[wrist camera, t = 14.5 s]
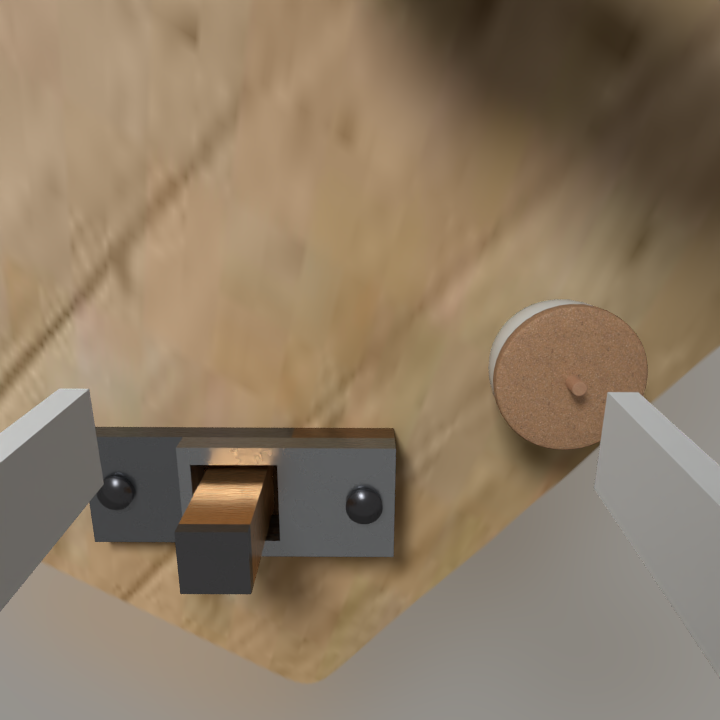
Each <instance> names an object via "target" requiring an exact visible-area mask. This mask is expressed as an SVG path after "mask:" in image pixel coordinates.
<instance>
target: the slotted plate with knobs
mask: <svg viewBox="0 0 720 720" xmlns="http://www.w3.org/2000/svg"><path fill="white" fill-rule="evenodd" d="M95 430H96V437H97V443H98V450H99V456H100V463H101V469H102V476H103V482H104V485H103V486H102V487H101V488H100V489H99V491H98V492H97V493H96V494H95V496H94V497H93V498H92V499H91V501H90V502H89V503H90V509H91V516H92V523H93V530H94V537H95V542H175V534H174V532H175V530H176V528H177V526H178V524H179V522H180V520H181V518H182V516H183V514H184V513H185V511H186V509H187V507H188V505H189V503H190V501H191V499H192V497H193V495H194V493H195V491H196V489H197V488H198V486H199V484H200V482H201V480H202V478H203V476H204V474H205V471H204V465H277V474H278V499H279V515H272V517H271V520H270V524H269V528H268V532H267V536H266V540H265V543H264V547H263V551H262V555H261V556H308V557H393V556H394V513H395V470H396V445H395V437H394V429H393V428H186V427H95Z"/></svg>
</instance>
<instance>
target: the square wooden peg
mask: <svg viewBox="0 0 720 720" xmlns="http://www.w3.org/2000/svg"><path fill="white" fill-rule="evenodd" d="M273 509H274V482H273V465H209V466H208V468H207V470H206V472H205V474H204V476H203V478H202V480H201V482H200V484H199V486H198V488H197V489H196V491H195V493H194V495H193V497H192V499H191V501H190V503H189V505H188V507H187V509H186V511H185V513H184V514H183V516H182V518H181V520H180V522H179V524H178V526H177V528H176V530H175V532H174V534H175V544H176V554H177V564H178V574H179V584H180V594H251V593H252V589H253V586H254V582H255V578H256V574H257V570H258V566H259V563H260V559H261V555H262V551H263V547H264V543H265V540H266V536H267V532H268V528H269V524H270V520H271V517H272V513H273Z"/></svg>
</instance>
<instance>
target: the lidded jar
mask: <svg viewBox="0 0 720 720" xmlns="http://www.w3.org/2000/svg"><path fill="white" fill-rule="evenodd" d="M488 370H489V380H490V384H491V388H492V392H493V394H494V397H495V399H496V403H497V405H498V407H499V410H500V412H501V414H502V416H503V417H504V419H505V420H506V421H507V423H508V424H509V426H510V427H511V428H512V429H513V430H514V431H515V432H516V433H517V434H519V435H520V436H521V437H523V438H524V439H526V440H528V441H530V442H532V443H533V444H536V445H539V446H542V447H545V448H551V449H560V450H569V449H577V448H582V447H586V446H590V445H592V444H595V443H597V442H600V441H601V435H602V427H603V420H604V413H605V406H606V399H607V392H638V393H640V394H641V395H642V396H643V394H644V391H645V388H646V383H647V377H648V365H647V359H646V354H645V351H644V348H643V345H642V343H641V341H640V339H639V338H638V336H637V334H636V333H635V332H634V331H633V329H632V328H631V327H630V326H629V325H628V324H627V323H625V322H624V321H623V320H622V319H621V318H619V317H617V316H616V315H614V314H612V313H610V312H608V311H606V310H604V309H601V308H598V307H595V306H593V305H590V304H587V303H584V302H580V301H574V300H569V299H554V300H547V301H542V302H538V303H535V304H532V305H530V306H528V307H525V308H524V309H522V310H520V311H519V312H517V313H516V314H515V315H513V316H512V317H511V318H510V319H509V320H508V321H507V322H506V323H505V324H504V325H503V327H502V328H501V329H500V331H499V332H498V334H497V336H496V337H495V340H494V342H493V344H492V347H491V351H490V356H489V367H488Z"/></svg>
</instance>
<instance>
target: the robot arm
mask: <svg viewBox="0 0 720 720" xmlns="http://www.w3.org/2000/svg"><path fill="white" fill-rule="evenodd" d="M103 485H104V482H103V476H102V469H101V463H100V456H99V450H98V443H97V437H96V430H95V424H94V417H93V411H92V404H91V398H90V392H89V389H58V390H57V391H56V392H54V393H53V394H52V395H50V396H49V397H48V398H46V399H45V400H44V401H42V402H41V403H40V404H38V405H37V406H36V407H34V408H33V409H32V410H30V411H29V412H28V413H26V414H25V415H24V416H22V417H21V418H20V419H18V420H17V421H16V422H14V423H13V424H12V425H10V426H9V427H8V428H6V429H5V430H4V431H2V432H1V433H0V611H1V610H2V609H3V608H4V606H5V605H6V604H7V603H8V602H9V600H10V599H11V598H12V597H13V595H14V594H15V593H16V592H17V591H18V589H19V588H20V587H21V585H22V584H23V583H24V582H25V581H26V579H27V578H28V577H29V576H30V574H31V573H32V572H33V571H34V570H35V568H36V567H37V566H38V565H39V563H40V562H41V561H42V560H43V558H44V557H45V556H46V555H47V554H48V552H49V551H50V550H51V549H52V547H53V546H54V545H55V544H56V542H57V541H58V540H59V539H60V538H61V536H62V535H63V534H64V533H65V531H66V530H67V529H68V528H69V526H70V525H71V524H72V523H73V522H74V520H75V519H76V518H77V517H78V515H79V514H80V513H81V512H82V510H83V509H84V508H85V507H86V505H87V504H88V503H89V502H90V501H91V499H92V498H93V497H94V496H95V494H96V493H97V492H98V491H99V489H100V488H101V487H102V486H103ZM594 489H595V491H596V492H597V494H598V495H599V497H600V498H601V500H602V502H603V503H604V504H605V506H606V507H607V509H608V510H609V512H610V514H611V515H612V517H613V518H614V520H615V521H616V523H617V524H618V525H619V527H620V528H621V530H622V531H623V533H624V535H625V536H626V537H627V539H628V541H629V542H630V544H631V545H632V547H633V548H634V550H635V551H636V553H637V554H638V556H639V557H640V559H641V560H642V562H643V563H644V565H645V566H646V568H647V569H648V571H649V572H650V574H651V575H652V577H653V579H654V580H655V582H656V583H657V585H658V586H659V588H660V589H661V591H662V592H663V594H664V595H665V597H666V598H667V600H668V601H669V603H670V604H671V606H672V607H673V609H674V610H675V611H676V613H677V615H678V616H679V618H680V619H681V621H682V622H683V624H684V625H685V627H686V628H687V630H688V631H689V633H690V634H691V636H692V637H693V639H694V640H695V642H696V643H697V645H698V647H699V648H700V650H701V651H702V653H703V654H704V656H705V657H706V659H707V660H708V662H709V663H710V665H711V666H712V668H713V669H714V671H715V672H716V674H717V675H718V677H719V678H720V465H719V464H718V463H716V462H715V461H714V460H713V459H712V458H711V457H710V456H708V455H707V454H706V453H705V452H704V451H703V450H702V449H701V448H700V447H698V446H697V445H696V444H695V443H694V442H693V441H692V440H691V439H690V438H688V437H687V436H686V435H685V434H684V433H683V432H682V431H681V430H680V429H679V428H677V427H676V426H675V425H674V424H673V423H672V422H671V421H670V420H669V419H667V418H666V417H665V416H664V415H663V414H662V413H661V412H660V411H658V410H657V409H656V408H655V407H654V406H653V405H652V404H651V403H650V402H648V401H647V400H646V399H645V398H644V397H643V396H642V395H641V394H640V393H638V392H607V399H606V406H605V413H604V420H603V427H602V435H601V442H600V449H599V456H598V463H597V471H596V478H595V485H594Z"/></svg>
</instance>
